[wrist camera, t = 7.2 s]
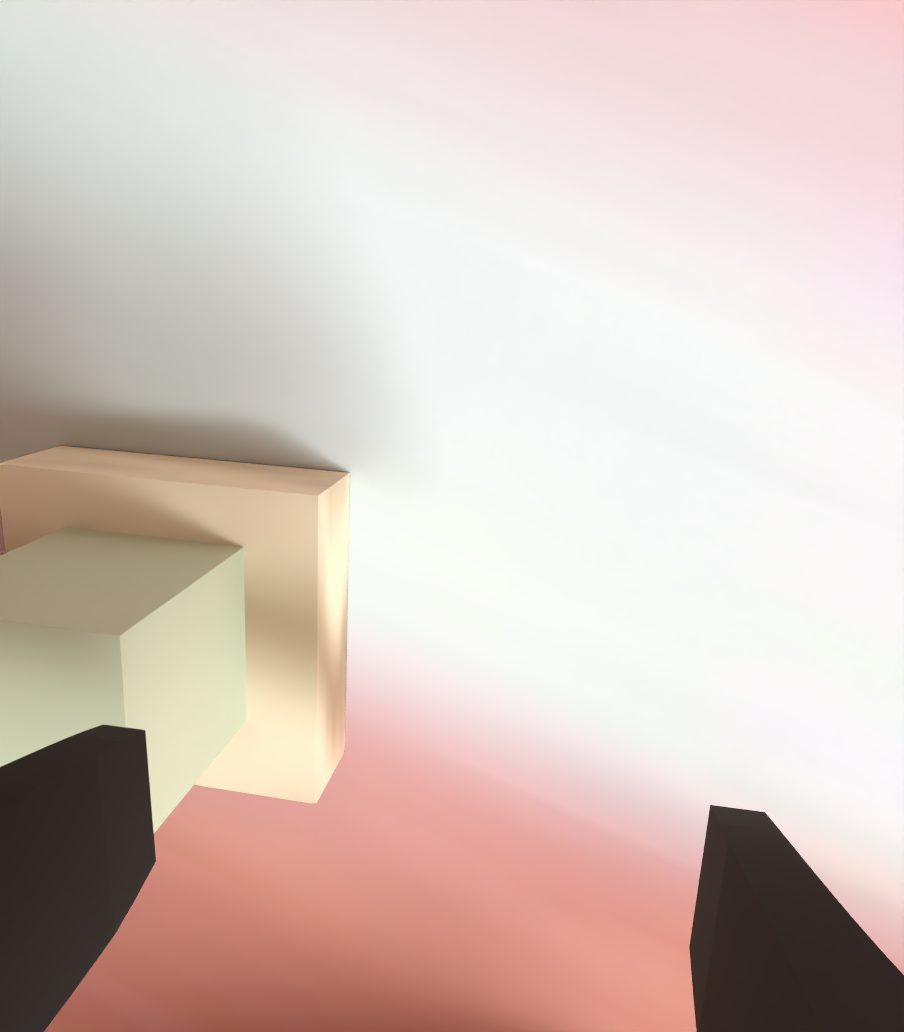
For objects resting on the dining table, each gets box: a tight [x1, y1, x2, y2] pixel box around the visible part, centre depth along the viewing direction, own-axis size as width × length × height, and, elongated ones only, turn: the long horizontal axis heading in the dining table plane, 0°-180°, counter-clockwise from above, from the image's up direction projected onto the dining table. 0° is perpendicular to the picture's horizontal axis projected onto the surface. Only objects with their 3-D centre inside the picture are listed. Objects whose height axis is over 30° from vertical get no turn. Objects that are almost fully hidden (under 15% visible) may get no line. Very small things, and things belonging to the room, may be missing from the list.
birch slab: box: [0, 446, 350, 804], centre depth 20 cm, size 8×8×2 cm
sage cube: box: [0, 527, 247, 833], centre depth 17 cm, size 4×4×5 cm
